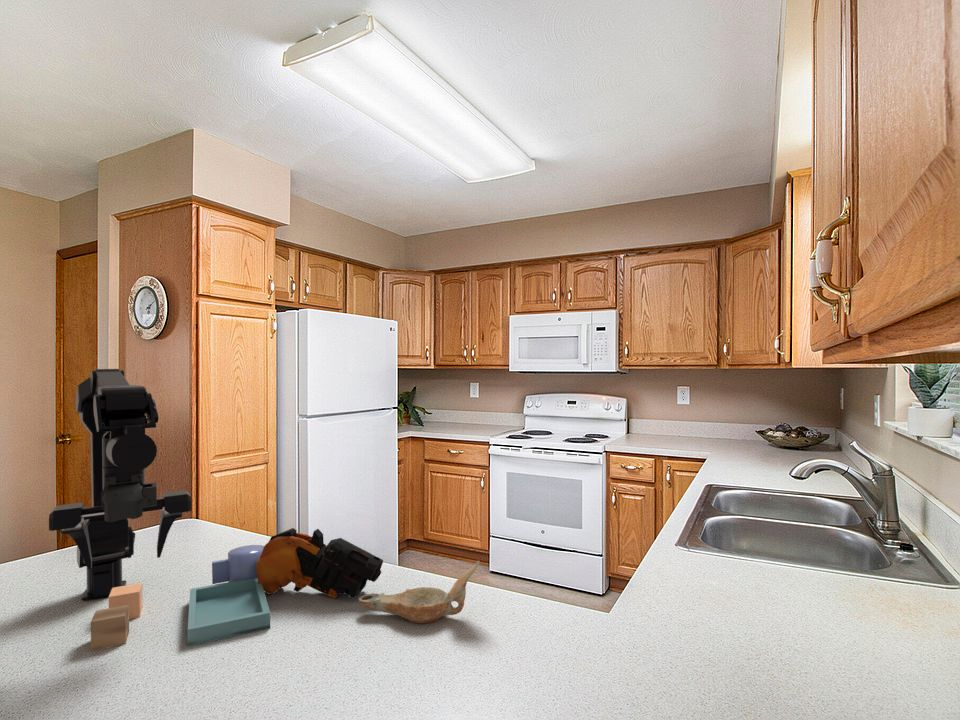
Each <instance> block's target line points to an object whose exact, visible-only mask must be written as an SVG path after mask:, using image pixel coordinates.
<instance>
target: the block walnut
mask: <svg viewBox="0 0 960 720" xmlns="http://www.w3.org/2000/svg"><path fill="white" fill-rule="evenodd" d="M90 620H91V621H90V651H91V652H92V651H97V650H102V649H107V648H112V647H116V646H122V645H126V644H127V640H128V637H129V633H130V619H129V605H125V606H119V607H114V608H109V607H108V608H105V609H97V610H95V612H94V613H93V617H92V619H90Z"/></svg>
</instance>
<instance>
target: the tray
mask: <svg viewBox="0 0 960 720" xmlns="http://www.w3.org/2000/svg"><path fill="white" fill-rule="evenodd" d="M188 604H189V605H188V618H187V619H188V621H187V646H188V647H190V646H196V645H199V644H204V643H208V642H214V641H218V640H222V639H226V638H230V637H231V638H232V637H235V636H240V635H245V634H250V633H254V632H259V631H263V630H268V629H271V611H270V607H269V604H268V600H267V597H266V592H265V591H264V589H263V585H262V584H259V582H258V579H257V578H254V579H249V580H238V581H232V582H222V583H216V584H211V585H205V586H199V587H194V588H190V589H189V603H188Z"/></svg>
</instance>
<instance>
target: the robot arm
mask: <svg viewBox="0 0 960 720" xmlns="http://www.w3.org/2000/svg"><path fill="white" fill-rule="evenodd" d="M76 387H77V388H76V396H75V411H76V413H77V414H79V418H80V422H81V424H82V426H83V427H84V428H85V429H86V430H87V432H88V433H89V434H90V437H89V438H90V474H91V475H90V478H91V479H90V482H91V483H90V484H91V486H90V487H91V506H90V507H88V506H86V507H85V503H84V502H76V503H74V502H73V503H67V504H60V505H59V504H58V505H56V506H55V507H54V508H53V509H52V510H51V512H50V513H49V514H48V531H51V532H53V531H59V533H60V535H62V536H64V535H68V536H70V538H71V539H72V540H73V542H74V543H75V545H76V562H77V565H78V566H77V567H78V568H79V569H81V568H85V567H86V589H85V591H84V592H83V595H82V596H81V601H86V600H92V599H93V600H94V599H98V598H104V597H105V598H106V597H109V595H110V593H111V590H112V588H114V587H120V586H126V585H127V580H126V579H125V580H123V560H125V559H131V558H132V556H134V555H135V552H134V551H135V550H134V549H135V540H136V532H134V531H133V529H132V526H130V525H129V520H128V519H131V520H135V519H136V520H137V519H139V518H141V517H143V514H144V513H145V512H151V511H160V518H159V524H158V525H159V527H158V534H157V542H156V558H157V559H158V558H161V556H162V553H163V550H164V547H165V544H166V540H167V537H168V534H169V532H170V530H171V528H172V526H173V524H174V523H175V521H176V519H179V518H180V519H181V518H183V513H188V512H191V511H193V510H192V506H193V505H192V496H191V494H190V492H189V491H187V490H186V489H181V490H180V489H179V490H174V491H165V492H164V491H163V492H162V497H158V495H157V491H158V490H157V482H149V483H148V482H147V483H146V469H147V468H148V467H150V466H151V465H152V463H153V462H154V461H155V459H156V457H157V452H158V449H157V445H156V443H155V442H156V441H154V439H153V438H152V437H150V436H149V435H147V434H146V429H155V428H157V424H158V423H159V414H158V409H157V405H156V400H155V399H154V398H153V397H152V396H153V395H152V394H151V392H148V391H147V388H146V387H145V386H143V385H140V384H138V385H137V384H130V383H129V381H128V380H127V379H126V377H125V371H124V370H123V369H119V368H96V369H94V370H91V371H90V375H89V377H88V378H86V379H85V380H84V381H81V383H79V384H78V385H77V386H76Z"/></svg>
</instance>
